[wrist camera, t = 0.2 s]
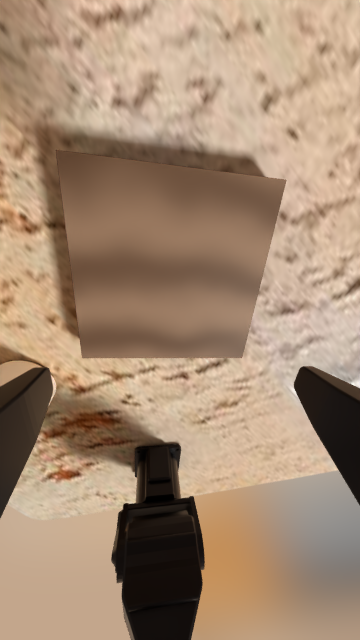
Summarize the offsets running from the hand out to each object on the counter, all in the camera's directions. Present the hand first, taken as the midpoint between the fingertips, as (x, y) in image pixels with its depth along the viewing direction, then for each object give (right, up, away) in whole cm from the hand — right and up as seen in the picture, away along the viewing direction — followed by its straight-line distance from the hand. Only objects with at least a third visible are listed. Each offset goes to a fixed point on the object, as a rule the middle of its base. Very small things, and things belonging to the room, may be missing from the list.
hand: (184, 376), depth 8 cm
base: (-1, +7, +13) cm, 14 cm away
